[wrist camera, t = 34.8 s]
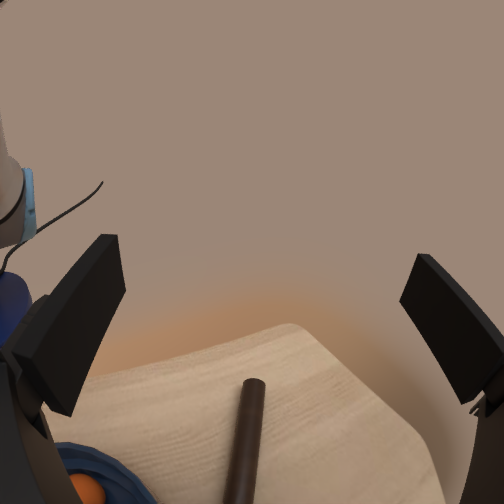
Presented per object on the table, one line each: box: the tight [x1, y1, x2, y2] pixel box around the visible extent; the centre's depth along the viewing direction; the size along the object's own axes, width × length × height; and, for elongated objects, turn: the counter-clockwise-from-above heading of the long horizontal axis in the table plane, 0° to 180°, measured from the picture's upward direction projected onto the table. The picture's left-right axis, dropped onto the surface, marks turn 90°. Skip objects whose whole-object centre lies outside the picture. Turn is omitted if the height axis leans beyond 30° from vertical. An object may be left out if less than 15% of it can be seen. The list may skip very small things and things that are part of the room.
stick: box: [223, 378, 266, 504], centre depth 21 cm, size 3×3×20 cm
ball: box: [69, 474, 106, 504], centre depth 14 cm, size 4×4×4 cm
